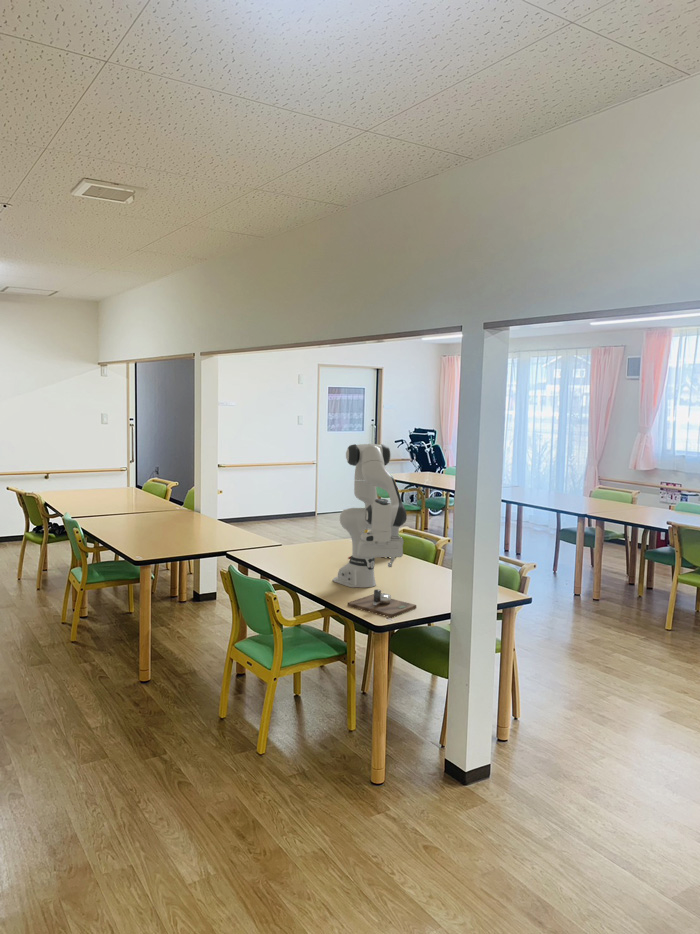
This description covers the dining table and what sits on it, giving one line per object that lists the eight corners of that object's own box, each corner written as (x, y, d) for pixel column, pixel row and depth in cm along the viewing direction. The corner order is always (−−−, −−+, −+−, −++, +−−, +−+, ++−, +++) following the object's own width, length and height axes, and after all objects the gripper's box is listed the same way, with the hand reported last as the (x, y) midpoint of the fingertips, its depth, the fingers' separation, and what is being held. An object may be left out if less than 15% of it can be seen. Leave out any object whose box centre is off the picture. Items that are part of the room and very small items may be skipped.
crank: (378, 598, 318) (379, 583, 317) (392, 601, 315) (393, 585, 314) (367, 606, 305) (368, 590, 304) (382, 608, 302) (383, 592, 302)
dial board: (347, 605, 311) (347, 602, 310) (373, 597, 326) (373, 593, 326) (391, 617, 296) (391, 614, 296) (416, 608, 312) (416, 604, 312)
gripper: (401, 534, 308) (400, 565, 309) (357, 534, 304) (355, 565, 305) (405, 537, 302) (404, 568, 303) (360, 537, 297) (359, 569, 299)
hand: (379, 567), depth 304 cm, fingers open, 8 cm apart
